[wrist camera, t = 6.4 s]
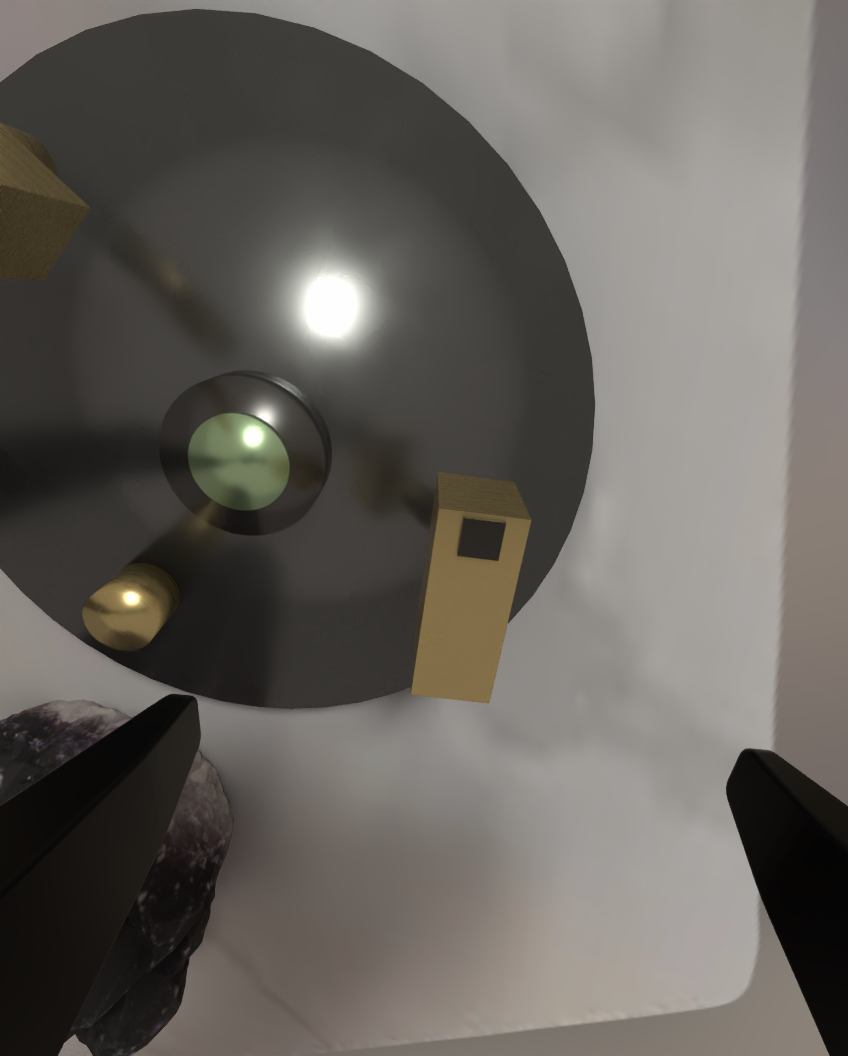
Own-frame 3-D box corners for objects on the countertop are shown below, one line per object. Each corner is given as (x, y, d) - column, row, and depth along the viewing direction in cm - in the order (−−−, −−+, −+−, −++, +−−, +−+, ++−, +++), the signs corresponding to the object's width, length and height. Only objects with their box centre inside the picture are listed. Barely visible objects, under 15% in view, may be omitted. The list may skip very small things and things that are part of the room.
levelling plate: (514, 714, 23) (526, 774, 20) (6, 657, 22) (-59, 712, 19) (673, 99, 14) (735, 49, 11) (-159, -32, 13) (-324, -124, 11)
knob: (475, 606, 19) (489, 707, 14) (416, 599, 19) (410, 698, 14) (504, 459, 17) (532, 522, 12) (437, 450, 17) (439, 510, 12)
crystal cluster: (-82, 724, 25) (-368, 984, 16) (140, 653, 22) (-73, 933, 13) (102, 870, 31) (-39, 1119, 22) (299, 833, 28) (224, 1108, 19)
